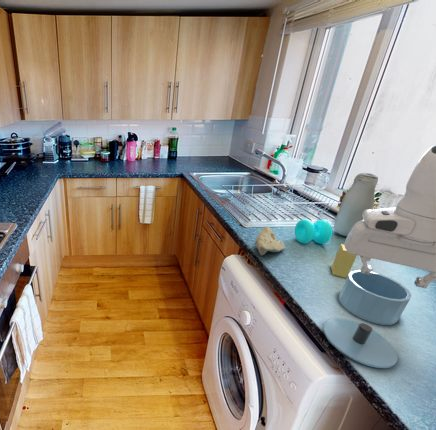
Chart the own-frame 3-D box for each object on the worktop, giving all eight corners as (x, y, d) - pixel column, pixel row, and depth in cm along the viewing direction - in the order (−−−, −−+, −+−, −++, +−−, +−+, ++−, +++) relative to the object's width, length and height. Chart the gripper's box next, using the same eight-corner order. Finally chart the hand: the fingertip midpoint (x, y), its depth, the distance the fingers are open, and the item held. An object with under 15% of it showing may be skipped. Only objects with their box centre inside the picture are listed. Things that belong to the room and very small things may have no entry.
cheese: (267, 245, 120) (244, 224, 117) (284, 238, 116) (260, 216, 112) (270, 274, 110) (245, 252, 106) (289, 267, 105) (263, 244, 101)
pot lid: (386, 335, 75) (395, 319, 73) (404, 381, 63) (416, 363, 61) (320, 314, 82) (326, 298, 79) (325, 352, 70) (333, 335, 68)
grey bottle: (351, 231, 130) (375, 171, 118) (363, 241, 121) (391, 178, 109) (326, 228, 132) (348, 169, 120) (336, 238, 123) (361, 176, 111)
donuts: (290, 235, 124) (297, 215, 120) (314, 236, 124) (321, 215, 120) (303, 247, 115) (311, 225, 111) (328, 248, 115) (337, 226, 111)
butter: (344, 270, 101) (355, 246, 97) (346, 278, 97) (357, 253, 93) (330, 267, 103) (340, 243, 99) (332, 274, 99) (342, 249, 95)
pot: (390, 301, 87) (402, 279, 83) (404, 332, 76) (419, 307, 73) (336, 287, 93) (345, 265, 89) (342, 313, 82) (353, 289, 79)
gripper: (485, 230, 56) (449, 286, 62) (355, 208, 65) (335, 259, 71) (504, 244, 51) (463, 304, 57) (361, 218, 60) (338, 272, 66)
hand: (391, 279), depth 64 cm, fingers open, 8 cm apart
